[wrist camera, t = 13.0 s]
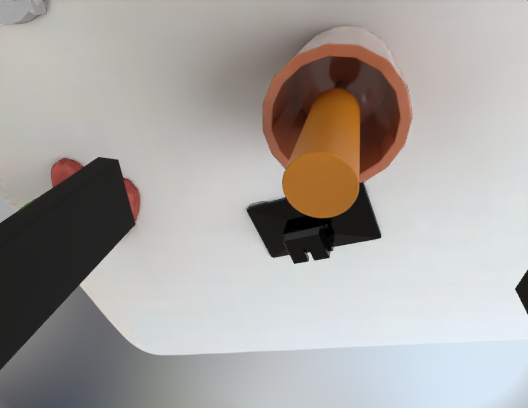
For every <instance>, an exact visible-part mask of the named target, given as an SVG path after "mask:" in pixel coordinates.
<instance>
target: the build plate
mask: <svg viewBox="0 0 528 408" xmlns="http://www.w3.org/2000/svg"><path fill="white" fill-rule="evenodd" d="M247 212H248V214H249V216H250V218H251V220H252V222H253V223H254V225H255V227H256V229H257V231H258V233H259V235H260V236H261V238H262V240H263V242H264V244H265V246H266V248H267V249H268V251H269V253H270V255H271V257H273V258H275V257H280V256H286V255H290V256H291V258H292V260H293V262H294V264H296V263H302V262H308V261H309V257H308V255H307V253H308V252H310V253H311V255H312V257H313V259H314V260H320V259H326V258H329V257H330V251H333V248H334V247H335V246H341V245H346V244H352V243H357V242H363V241H369V240H374V239H379V238H381V233H380V230H379V227H378V224H377V221H376V218H375V215H374V212H373V209H372V206H371V203H370V200H369V197H368V194H367V191H366V188H365V185H364V182H361V183H359V193H358V196H357V198H356V200H355V202H354V203H353V204H352V206H351V207H350V208H349V209H347V210H346V211H345V212H343V213H341V214H339V215H337V216H334V217H329V218H316V217H311V216H308V215H305V214H303V213H301V212H299V211H298V210H296V209H295V208H294V207H293V206H292V205H291V204H290V203H289V201H288V200H287V198H283V199H279V200H275V201H272V202H266V201H263V202H259V203H255V204H252V205H251V206H250V207H249V208H248V209H247Z"/></svg>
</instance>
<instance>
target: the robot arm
mask: <svg viewBox="0 0 528 408" xmlns="http://www.w3.org/2000/svg"><path fill="white" fill-rule="evenodd" d="M134 225H135V220H134V216H133V212H132V209H131V205H130V201H129V198H128V194H127V190H126V187H125V183H124V179H123V176H122V172H121V168H120V165H119V161H118V160H116V159H109V158H101V157H98V158H96V159H95V160H93V161H92V162H90V163H89V164H87V165H86V166H84V167H83V168H82V169H80V170H79V171H77V172H76V173H74V174H73V175H71V176H70V177H68V178H67V179H65V180H64V181H62V182H61V183H59V184H58V185H56V186H55V187H53V188H52V189H50V190H49V191H47V192H46V193H44V194H43V195H41V196H40V197H38V198H37V199H35V200H34V201H32V202H31V203H29V204H28V205H26V206H25V207H23V208H22V209H20V210H19V211H17V212H16V213H15V214H13V215H12V216H10V217H9V218H7V219H5V220H4V221H3V222H1V223H0V370H1V369H2V368H3V367H4V365H5V364H6V363H7V362H8V361H9V360H10V359H11V358H12V356H14V355H15V354H16V353H17V351H18V350H19V349H20V348H21V347H22V346H23V345H24V344H25V343H26V342H27V341H28V339H29V338H30V337H31V336H32V335H33V334H34V333H35V332H36V331H37V330H38V329H39V328H40V327H41V326H42V324H43V323H44V322H45V321H46V320H47V319H48V318H49V317H50V316H51V315H52V314H53V313H54V311H55V310H56V309H57V308H58V307H59V306H60V305H61V304H62V303H63V302H64V301H65V300H66V298H67V297H68V296H69V295H70V294H71V293H72V292H73V291H74V290H75V289H76V288H77V287H78V286H79V285H80V283H81V282H82V281H83V280H84V279H85V278H86V277H87V276H88V275H89V274H90V273H91V272H92V270H93V269H94V268H95V267H96V266H97V265H98V264H99V263H100V262H101V261H102V260H103V259H104V258H105V256H106V255H107V254H108V253H109V252H110V251H111V250H112V249H113V248H114V247H115V246H116V245H117V244H118V242H119V241H120V240H121V239H122V238H123V237H124V236H125V235H126V234H127V233H128V232H129V231H130V229H131V228H132V227H133V226H134ZM515 290H516V292H517V294H518V296H519V298H520V300H521V302H522V304H523V306H524V308H525V310H526V312H527V314H528V270H527V272H526V273H525V275H524V276H523V278H522V279H521V281H520V282H519V284H518V285H517V287H516V288H515Z"/></svg>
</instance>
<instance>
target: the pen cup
mask: <svg viewBox="0 0 528 408" xmlns="http://www.w3.org/2000/svg"><path fill="white" fill-rule="evenodd" d="M339 81H343V82H345V83H346V90H347V91H349V92H351V93H352V94H353V95H354V96H355V97H356V99H357V100H358V102H359V105H360V169H359V183H361V182H364V181H366V180H368V179H369V178H371V177H372V176H374V175H376V174H377V173H379V172H381V171H382V170H384V169H386V168H387V167H388V166H389V165H390V163H391V162H392V161H393V159H394V158H395V157H396V156H397V154H398V153H399V152H400V150H401V149H402V148H403V147H404V144H405V142H406V139H407V135H408V131H409V128H410V124H411V120H412V109H411V103H410V97H409V91H408V87H407V84H406V82H405V80H404V78H403V76H402V73H401V71H400V69H399V67H398V65H397V63H396V61H395V58H394V56H393V55H392V53H391V52H390V50H389V49H388V47H387V46H386V45H385V43H384V42H383V41H382V39H381V38H380V37H378V36H376V35H375V34H373V33H372V32H370V31H368V30H365V29H363V28H360V27H354V26H338V27H334V28H331V29H328V30H326V31H324V32H321V33H319V34H317V35H316V36H314V37H313V38H312V39H311V40H310V41H309V42H308V43H307V44H306V45H305V46H304V47H303V48H302V49H301V50H300V51H299V52H298V53H297V54H296V55H295V56H294V57H293V58H292V59H291V60H290V61H289V62H288V63H287V64H286V65H285V66H284V67H283V68H282V69H281V70H280V71H279V72H278V73H277V74H276V75H275V77H274V78H273V80H272V82H271V85H270V87H269V90H268V92H267V94H266V97H265V99H264V101H263V133H264V135H265V138H266V140H267V143H268V145H269V148H270V150H271V153H272V154H273V156H274V157H275V158H276V159H277V160H278V161H279V162H280V163H281V164H282V166H283V167H284V168H285V169H286V167H287V165H288V162H289V160H290V158H291V155H292V153H293V150H294V148H295V146H296V143H297V141H298V138H299V136H300V134H301V131H302V129H303V126H304V124H305V122H306V119H307V117H308V114H309V112H310V110H311V107H312V105H313V103H314V101H315V99H316V98H317V96H319V95H320V94H321V93H322V92H324V91H326V90H328V89H332V88H334V87H335V84H336V83H337V82H339Z"/></svg>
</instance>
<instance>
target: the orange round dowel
mask: <svg viewBox="0 0 528 408" xmlns="http://www.w3.org/2000/svg"><path fill="white" fill-rule="evenodd" d="M359 169H360V105H359V102H358V100H357V99H356V97H355V96H354V95H353V94H352V93H351V92H349V91H347V90H346V83H345V82H343V81H339V82H337V83H336V84H335V87H334V88H332V89H328V90H326V91H324V92H322V93H321V94H320V95H319V96H317V98H316V99H315V101H314V103H313V105H312V107H311V110H310V112H309V114H308V117H307V119H306V122H305V124H304V126H303V129H302V131H301V134H300V136H299V138H298V141H297V143H296V146H295V148H294V150H293V153H292V155H291V158H290V160H289V162H288V165H287V167H286V170H285V172H284V175H283V180H282V186H283V191H284V194H285V196H286V198H287V200H288V201H289V203H290V204H291V205H292V206H293V207H294V208H295V209H296V210H298V211H299V212H301V213H303V214H305V215H308V216H311V217H316V218H329V217H334V216H337V215H339V214H341V213H343V212H345V211H346V210H347V209H349V208H350V207H351V206H352V204H353V203H354V202H355V200H356V198H357V196H358V193H359Z"/></svg>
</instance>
